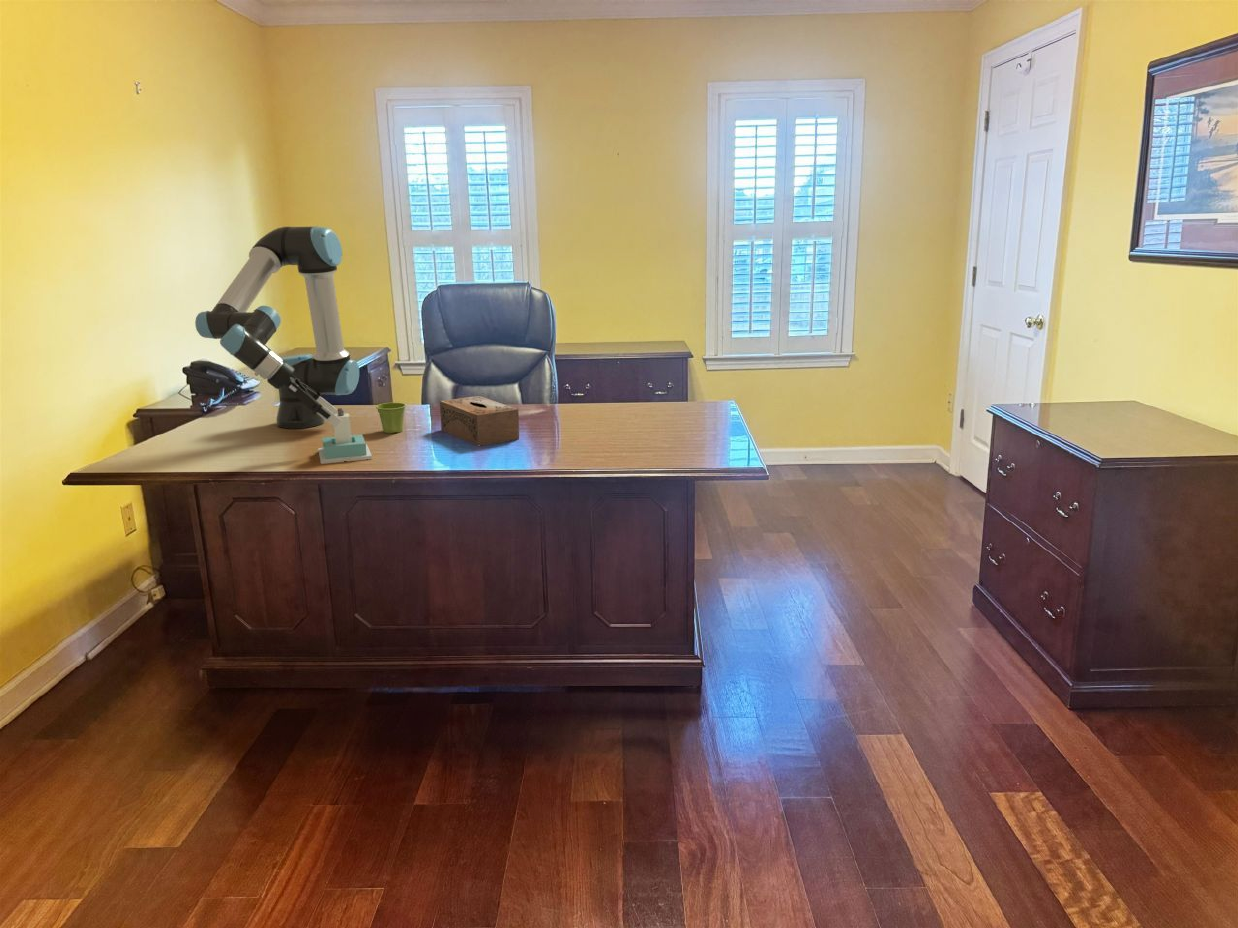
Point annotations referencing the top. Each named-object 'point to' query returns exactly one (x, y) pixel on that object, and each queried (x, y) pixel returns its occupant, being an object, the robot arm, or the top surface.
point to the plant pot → (391, 416)
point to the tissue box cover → (479, 420)
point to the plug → (343, 428)
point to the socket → (344, 450)
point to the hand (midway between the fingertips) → (336, 418)
